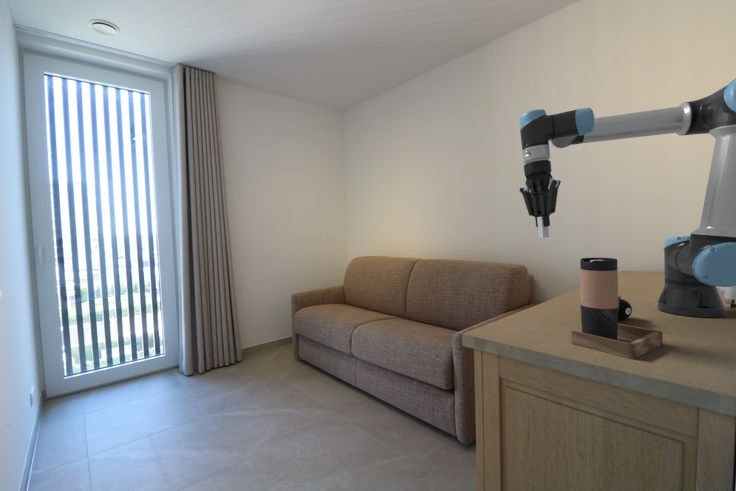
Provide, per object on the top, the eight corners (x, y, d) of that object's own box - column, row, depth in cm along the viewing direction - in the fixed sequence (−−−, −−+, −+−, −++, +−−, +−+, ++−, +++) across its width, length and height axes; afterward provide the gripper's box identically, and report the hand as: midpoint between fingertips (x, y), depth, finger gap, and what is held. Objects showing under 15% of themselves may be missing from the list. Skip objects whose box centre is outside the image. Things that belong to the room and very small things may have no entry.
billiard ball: (620, 322, 98) (620, 301, 97) (601, 317, 103) (601, 297, 103) (637, 320, 99) (637, 300, 99) (617, 315, 105) (617, 296, 104)
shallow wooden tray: (602, 331, 90) (602, 320, 90) (662, 344, 80) (662, 331, 79) (571, 343, 83) (571, 331, 82) (632, 359, 72) (632, 345, 72)
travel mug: (615, 337, 86) (614, 257, 85) (621, 347, 79) (621, 260, 78) (579, 334, 89) (578, 257, 88) (583, 343, 82) (581, 260, 81)
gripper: (511, 167, 111) (518, 239, 111) (547, 155, 99) (555, 237, 99) (527, 167, 114) (534, 237, 114) (564, 156, 102) (572, 235, 102)
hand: (544, 237), depth 107 cm, fingers closed
